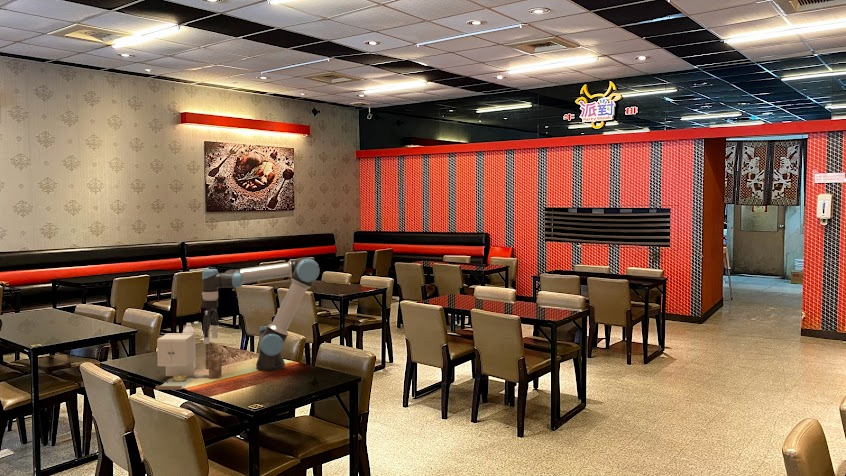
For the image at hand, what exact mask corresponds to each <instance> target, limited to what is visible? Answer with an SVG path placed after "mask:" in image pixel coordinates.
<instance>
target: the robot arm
mask: <svg viewBox="0 0 846 476" xmlns="http://www.w3.org/2000/svg"><path fill="white" fill-rule="evenodd" d="M201 274H202V275H201V277H202V278H201V280H202V282H201V285H202V286H201V288H202V293H201V296H202V299H203V300H202V308H204V309H206V310H203V320H202V328H201V332H203V345H209V344H211V342H210V337H211V339H218V337H219V336H218V335H219V334H218V328H219V327H218V326H220V321H219V315H218V307H219V300H218V299H219V289H221V288H235V289H236V288H240V287H242V286H243V283H251V282H257V281H266V280H272V279H280V278H287V277H290V279H291V284H290V285H289V288H288V289H287V292H286V294H285V295H284V298H283V300H282V301H281V304H280V306H279V308H278V310H277V313H276V314H275V316H274V318H273V320H272V322H271V323H270V324H268V325H261V326H259V329H258V330H259V331H258V334H259V335H258V336H259V337H258V338H259V345H258V347H259V349H258V350H259V353H258V358H257V361H256V363H255V369H256V370H258V371H262V372H274V371H281V370H282V368H283V369H285V366H286V364H285V360H284V356H283V354H282V351H283V349H284V345H285V342H286V340H287V338H288V336H289V332H288V329H289V327H290V325H291V324H292V323H291V322H292V320H294V317H295V315H296V313H297V310H299V309H298V308H299V307H300V304H301V302H302V301H303V299H304V296H305V295H306V292H307V290H309V289H310V288H312V286H313V285H314V282H315V281H316V280H317V279H318V277H319V275H320V267H319V263H318V262H317V261H316V260H314V259H313V258H311V257H308V256H304V257H300V258H295V259H291V260H290V259H289V260H288V261H287V262H282V263H276V264H275V263H273V264H267V265H260V266H259V265H258V266H252V267H245V268H244V267H243V268H238V269H237V268H236V269H233V268H231V269H227V270H226V271H225V272H219V271H218V269H216V268H207V269H205V268H204V269H203V270H202V273H201ZM211 324H212V325H211ZM210 327H211V330H210ZM210 331H211V333H210ZM210 335H211V336H210Z"/></svg>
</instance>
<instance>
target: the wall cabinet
mask: <svg viewBox="0 0 846 476" xmlns="http://www.w3.org/2000/svg"><path fill="white" fill-rule="evenodd" d="M156 341H157V342H156V346H157V348H156V349H157V352H156V354H157V367H165V377H173V376H174V375H177V374H186V375H195V369H194V333H183V332H181V333H179V332H176V333H175V332H173V333H165V334H164V335H163V336H160V337H159V338H157V340H156Z"/></svg>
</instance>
